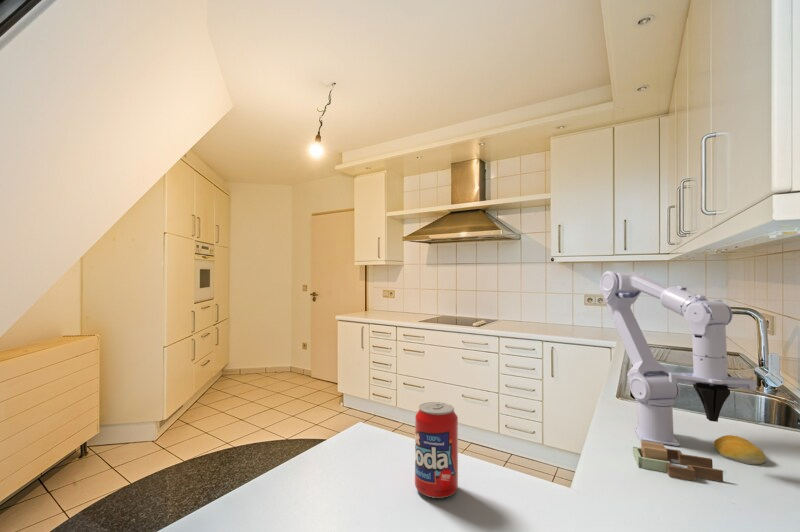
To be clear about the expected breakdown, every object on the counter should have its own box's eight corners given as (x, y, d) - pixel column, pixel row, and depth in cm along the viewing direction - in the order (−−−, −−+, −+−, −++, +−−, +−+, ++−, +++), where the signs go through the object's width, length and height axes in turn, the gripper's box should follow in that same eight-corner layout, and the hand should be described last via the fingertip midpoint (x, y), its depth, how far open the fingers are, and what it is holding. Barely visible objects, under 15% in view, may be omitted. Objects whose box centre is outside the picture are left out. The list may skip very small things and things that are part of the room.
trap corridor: (631, 452, 85) (631, 443, 85) (708, 464, 79) (707, 454, 79) (640, 471, 76) (640, 461, 76) (727, 486, 70) (726, 476, 70)
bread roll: (726, 462, 81) (725, 443, 81) (709, 446, 89) (708, 429, 89) (775, 469, 78) (774, 450, 78) (753, 452, 86) (752, 434, 86)
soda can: (464, 486, 69) (464, 404, 70) (447, 507, 63) (447, 416, 64) (426, 475, 73) (427, 398, 74) (407, 494, 67) (407, 408, 68)
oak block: (641, 459, 82) (640, 440, 82) (663, 463, 80) (662, 444, 80) (644, 467, 78) (644, 447, 78) (667, 471, 76) (667, 451, 77)
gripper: (674, 356, 80) (676, 420, 79) (762, 362, 74) (765, 431, 73) (665, 351, 86) (667, 411, 85) (746, 356, 80) (749, 420, 79)
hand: (712, 420), depth 80 cm, fingers closed
